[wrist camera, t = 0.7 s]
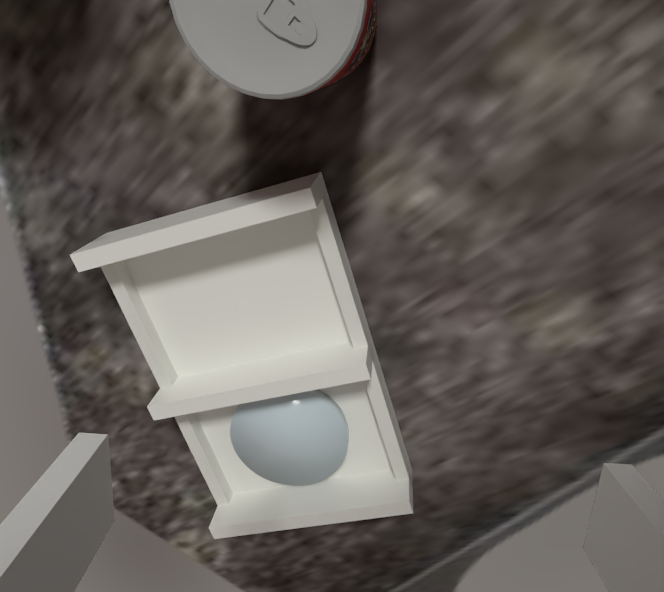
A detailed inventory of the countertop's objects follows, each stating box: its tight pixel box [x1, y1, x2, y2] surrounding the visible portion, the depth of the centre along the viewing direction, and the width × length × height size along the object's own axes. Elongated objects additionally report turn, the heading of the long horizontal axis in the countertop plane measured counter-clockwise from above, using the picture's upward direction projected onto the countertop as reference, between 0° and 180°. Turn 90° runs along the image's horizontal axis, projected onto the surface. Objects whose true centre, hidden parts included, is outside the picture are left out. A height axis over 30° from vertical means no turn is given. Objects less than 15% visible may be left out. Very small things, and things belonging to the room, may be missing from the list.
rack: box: [70, 172, 413, 539], centre depth 38 cm, size 16×25×4 cm, turn 17°
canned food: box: [169, 0, 377, 100], centre depth 25 cm, size 8×8×11 cm
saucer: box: [230, 389, 349, 486], centre depth 41 cm, size 9×9×1 cm
